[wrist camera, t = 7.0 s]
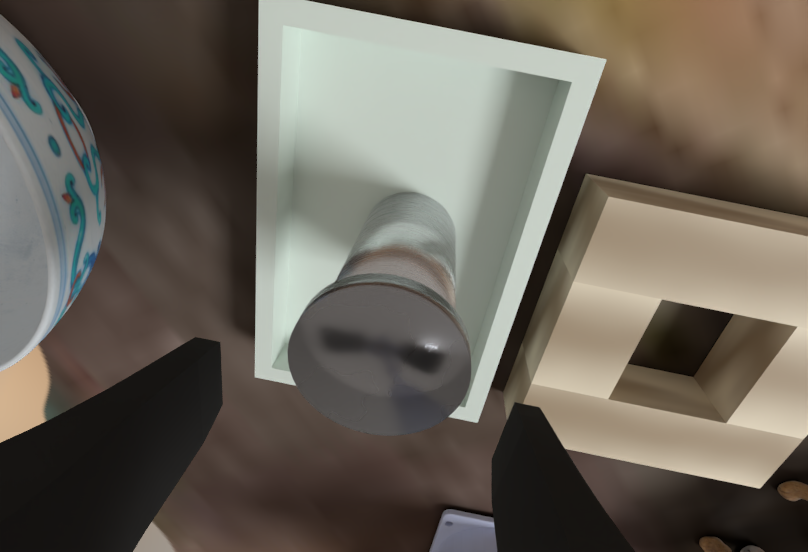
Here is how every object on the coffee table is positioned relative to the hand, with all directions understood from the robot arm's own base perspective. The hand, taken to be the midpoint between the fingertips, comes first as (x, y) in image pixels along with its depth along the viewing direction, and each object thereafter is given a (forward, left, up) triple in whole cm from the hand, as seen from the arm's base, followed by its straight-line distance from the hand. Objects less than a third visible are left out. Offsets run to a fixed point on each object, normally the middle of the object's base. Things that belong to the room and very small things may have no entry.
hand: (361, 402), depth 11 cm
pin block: (-2, -13, -10) cm, 17 cm away
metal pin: (0, 0, -10) cm, 10 cm away
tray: (0, 0, -10) cm, 10 cm away
